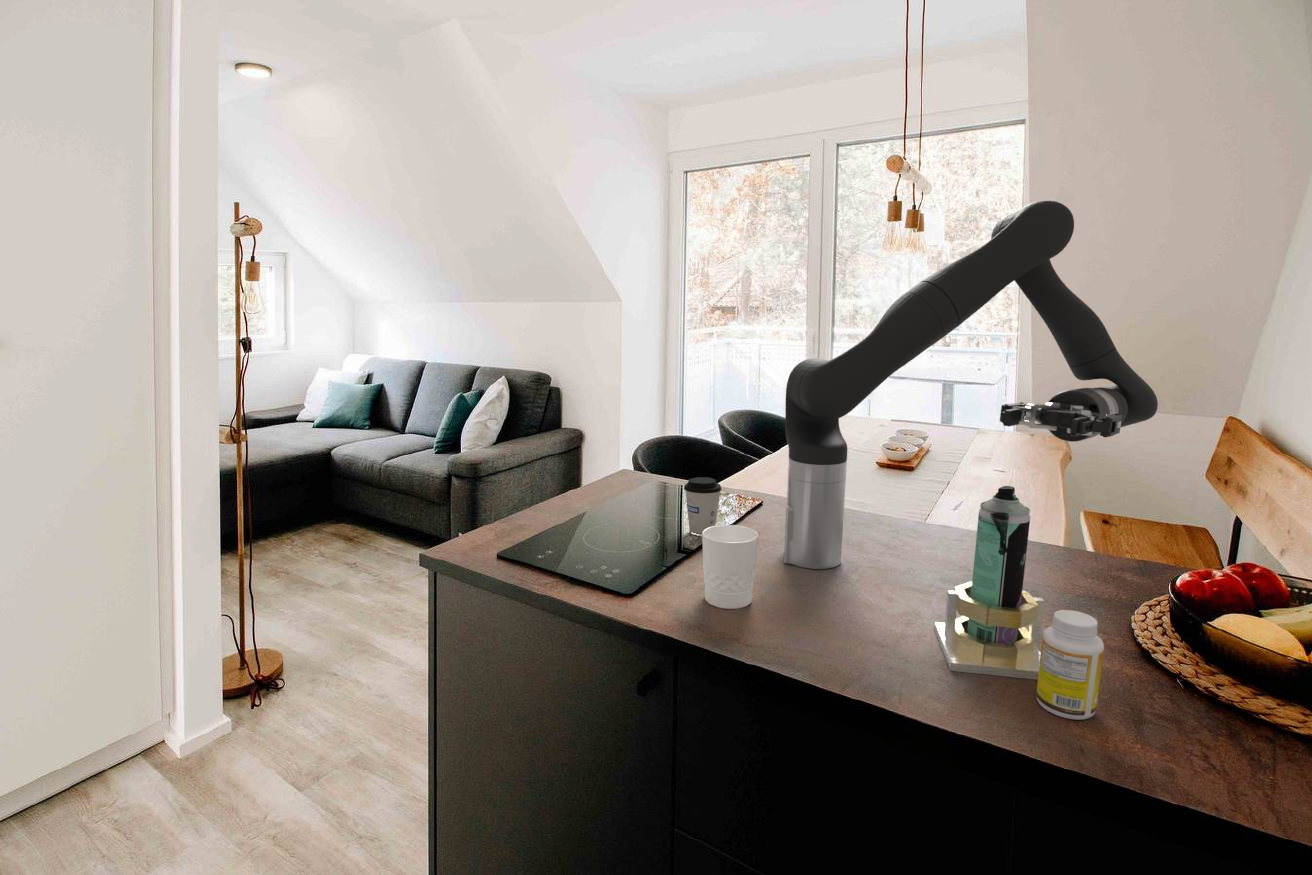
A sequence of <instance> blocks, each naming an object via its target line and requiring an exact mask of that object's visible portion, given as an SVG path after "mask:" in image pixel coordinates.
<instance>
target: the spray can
mask: <svg viewBox="0 0 1312 875" xmlns="http://www.w3.org/2000/svg"><path fill="white" fill-rule="evenodd" d="M1015 493H1016V489H1015V487H1014V486H1011V485H1004V486H1001V487H999V488H998V489H997V492H996V493H995V494H994V495H992V498H990V499H988V500H985V501H982V502H981V503H980V508H979V510H978V516H977V517H978V519H977V528H976V538H975V548H974V549H975V550H974V559H973V569H972V570H973V571H972V578H971V581H972V589H971V599H973V600H975V601H978V602H981V603H983V604H986V605H989V606H996V607H1007V608H1017V607H1019V606H1021V598H1022V591H1023V587H1024V578H1025V569H1026V560H1027V551H1028V542H1029V534H1030V533H1029V532H1030V522H1031V515H1030V513H1031V509H1030V508H1029V507H1027V506H1025V505H1024V503H1022V502H1020V498H1018V497H1017V495H1016V494H1015ZM967 634H969V635H972V636H974V637H976V638H979V639H981V640H983V641H986V642H994V643H1004V644H1013V643H1015V642H1017V634H1018V628H1010V627H999V626H988V625H984V624H982V623H979V622H977V621H974V620H972V619H970V618H969V620H968V631H967Z"/></svg>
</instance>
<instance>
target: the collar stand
mask: <svg viewBox="0 0 1312 875" xmlns="http://www.w3.org/2000/svg"><path fill="white" fill-rule="evenodd" d="M971 589H972V580H970V581H967V582H965V583H962V584H958V585H956V586H954V588H953V590H951V589H950V590H949V589H948V590H947V593H946V594H947V596H946V606H945V618H944V622H939V621H934V626H933V627H934V628H933V630H934V633H935V634H936V638H937V639H938V642H939V645H940V648H941V651H942V652H943V655H944V658H945V661H946V663H947V666H948V667H949V668H948V669H949V671H951V672H960V673H969V674H979V675H989V676H999V677H1006V678H1007V677H1008V678H1018V679H1025V680H1026V679H1027V680H1028V679H1029V680H1036V681H1038V674H1039V665H1040V655H1041V650H1039V649H1040V644H1041V643H1040V642H1041V635H1042V626H1043V625H1042V624H1043V619H1044V618H1043V615H1044V610H1045V609H1044V607H1045V600H1044V598H1042V597H1033V596H1032V595H1031V592H1030V593H1029V592H1028V591H1025V590H1022V598H1021V606H1019V607H1017V608H1007V607H996V606H989V605H986V604H983V603H981V602H978V601H975V600H973V599H971ZM957 613H958V614H959V615H960V617H957ZM969 618H970V619H972V620H974V621H977V622H979V623H982V624H984V625H988V626H999V627H1010V628H1018V634H1017V642H1015V643H1013V644H1004V643H994V642H986V641H983V640H981V639H979V638H976V637H974V636H972V635H969V634H967V631H968V620H969ZM1026 626H1029V628H1028V629H1027V627H1026Z"/></svg>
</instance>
